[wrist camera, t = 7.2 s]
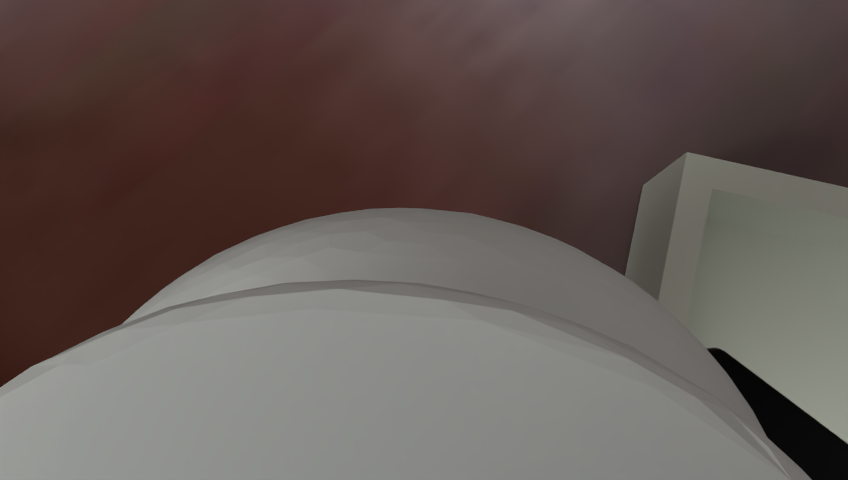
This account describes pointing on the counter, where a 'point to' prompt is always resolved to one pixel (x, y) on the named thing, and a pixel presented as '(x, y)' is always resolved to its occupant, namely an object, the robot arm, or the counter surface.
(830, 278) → the tote
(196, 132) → the counter surface
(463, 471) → the supplement bottle
